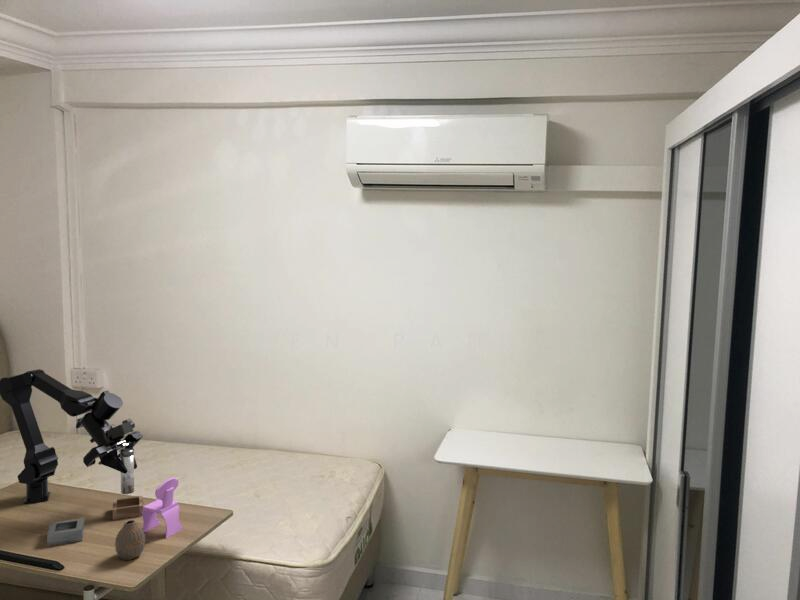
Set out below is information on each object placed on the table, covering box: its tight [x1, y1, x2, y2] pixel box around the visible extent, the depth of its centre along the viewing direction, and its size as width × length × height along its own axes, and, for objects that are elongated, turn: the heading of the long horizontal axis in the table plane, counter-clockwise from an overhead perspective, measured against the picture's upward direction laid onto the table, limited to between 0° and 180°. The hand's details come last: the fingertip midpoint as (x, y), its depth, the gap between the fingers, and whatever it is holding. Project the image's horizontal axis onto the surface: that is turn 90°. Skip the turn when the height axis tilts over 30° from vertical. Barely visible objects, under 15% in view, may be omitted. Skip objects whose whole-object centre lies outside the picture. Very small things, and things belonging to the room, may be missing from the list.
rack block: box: [112, 495, 144, 521], centre depth 175 cm, size 8×8×3 cm
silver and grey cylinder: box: [119, 447, 135, 495], centre depth 175 cm, size 4×4×12 cm
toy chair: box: [142, 477, 184, 539], centre depth 164 cm, size 8×9×15 cm
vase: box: [114, 519, 146, 561], centre depth 150 cm, size 7×7×9 cm
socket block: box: [46, 517, 85, 547], centre depth 159 cm, size 8×8×3 cm
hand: (131, 470), depth 174 cm, fingers closed on silver and grey cylinder, 4 cm apart
